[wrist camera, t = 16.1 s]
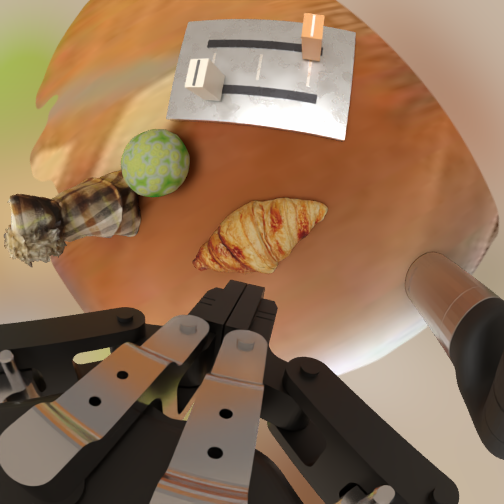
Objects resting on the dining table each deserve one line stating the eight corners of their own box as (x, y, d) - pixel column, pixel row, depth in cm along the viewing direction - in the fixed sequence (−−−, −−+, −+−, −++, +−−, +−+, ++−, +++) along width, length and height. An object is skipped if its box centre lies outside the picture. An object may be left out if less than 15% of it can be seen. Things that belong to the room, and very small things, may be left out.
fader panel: (353, 37, 29) (355, 32, 27) (342, 141, 35) (344, 140, 33) (192, 26, 33) (188, 21, 31) (171, 120, 38) (165, 118, 36)
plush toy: (170, 232, 42) (26, 241, 18) (119, 265, 46) (-2, 288, 23) (143, 160, 43) (17, 130, 19) (98, 200, 47) (-14, 195, 24)
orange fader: (322, 39, 29) (324, 15, 22) (319, 61, 30) (321, 39, 23) (305, 36, 29) (304, 12, 22) (302, 58, 30) (301, 36, 23)
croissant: (315, 186, 41) (306, 161, 33) (343, 245, 38) (340, 230, 30) (199, 242, 46) (171, 231, 39) (216, 299, 43) (188, 297, 36)
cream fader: (225, 76, 33) (208, 57, 26) (220, 100, 34) (202, 86, 27) (209, 75, 33) (190, 58, 26) (204, 100, 34) (183, 86, 27)
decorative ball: (178, 120, 38) (144, 109, 29) (211, 170, 39) (183, 169, 30) (135, 159, 41) (96, 159, 32) (165, 207, 42) (129, 217, 33)
